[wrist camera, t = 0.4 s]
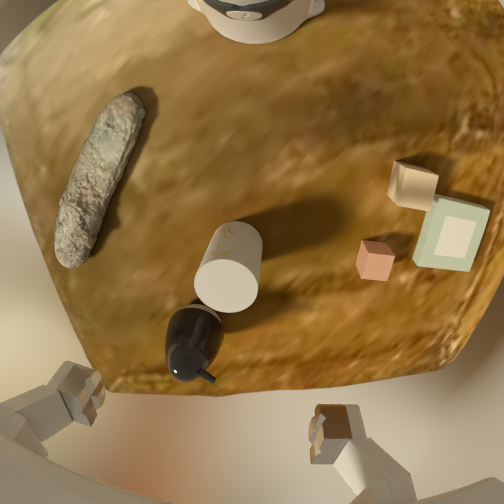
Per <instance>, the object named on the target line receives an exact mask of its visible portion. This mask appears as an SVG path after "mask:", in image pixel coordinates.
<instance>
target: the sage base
mask: <svg viewBox="0 0 504 504" xmlns="http://www.w3.org/2000/svg"><path fill="white" fill-rule="evenodd" d="M489 214H490V210H489V209H487V208H486V207H485V206H483V205H480V204H476V203H472V202H468V201H464V200H460V199H456V198H452V197H448V196H443V195H439V194H434V198H433V202H432V206H431V209H430V211H426V215H425V219H424V222H423V226H422V229H421V233H420V236H419V239H418V242H417V246H416V249H415V252H414V255H413V258H412V259H413V260H414V262H415V263H416V265H417V266H422V267H431V268H440V269H449V270H458V271H467V272H469V271H470V268H471V266H472V263H473V260H474V258H475V255H476V253H477V250H478V247H479V244H480V241H481V239H482V236H483V233H484V230H485V227H486V224H487V220H488V217H489Z"/></svg>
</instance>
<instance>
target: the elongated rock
mask: <svg viewBox="0 0 504 504" xmlns="http://www.w3.org/2000/svg"><path fill="white" fill-rule="evenodd" d="M145 115H146V111H145V109H144V106H143V103H142V101H141V100H140V98H139V97H138V96H136V95H134V94H132V93H129V92H128V93H125V94H119V95H118V96H116V97H115V98H114V99H113V100H111V101H110V102H109V103H108V104H107V106H105V107H104V109H103V110H102V111H101V112H100V114H99V115H98V118H97V120H96V122H95V124H94V126H93V128H92V131H91V133H90V135H89V137H88V138H87V139H86V140H85V142H84V144H83V147H82V151H81V154H80V156H79V158H78V160H77V162H76V164H75V166H74V169H73V171H72V172H71V175H70V179H69V182H68V185H67V187H66V188H65V190H64V193H63V194H62V195H61V198H60V202H59V205H60V206H59V212H58V215H57V216H56V217H57V220H56V230H55V233H54V235H55V254H56V257H57V259H58V260H59V262H60V263H61V264H62V265H63V266H65V267H66V268H71V269H72V268H75V267H80V266H81V265H82V264H83V263H84V262H86V260H87V259H88V257H89V255H90V251H91V249H92V248H93V246H94V243H95V241H96V240H97V239H96V237H97V234H98V232H100V229H99V228H100V227H101V225H102V221H103V216H104V215H105V213H106V209H107V207H108V205H109V201H110V198H111V196H112V195H113V193H114V191H115V189H116V187H117V183H118V182H119V180H120V179H121V178H122V176H123V172H124V169H125V166H126V165H127V163H128V158H129V155H130V153H131V152H132V149H133V147H134V146H135V143H136V142H137V137H138V135H139V131H140V129H141V127H142V126H143V124H142V119H143V118H144V116H145Z"/></svg>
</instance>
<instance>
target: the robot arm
mask: <svg viewBox="0 0 504 504" xmlns="http://www.w3.org/2000/svg"><path fill="white" fill-rule="evenodd" d="M188 3H189V4H190V6H191V7H192V8H194V9H195V10H197V11H199V12H201V13H203V14H204V15H205V16H206V18H207V19H208V21H209V22H210V24H211V25H212V26H213V27H214V28H215V29H216V30H217V31H218V32H219V33H220V34H222V35H223V36H225V37H227V38H229V39H232V40H234V41H237V42H241V43H247V44H264V43H269V42H273V41H277V40H279V39H282V38H284V37H286V36H287V35H289V34H291V33H292V32H293V31H295V30H296V29H297V28H298V27H299V26H300V25H301V24H302V23H303V22H304V21H305V20H306V19H308V18H311V17H313V16H316V15H318V14H320V13H322V12H323V11H324V8H325V3H324V0H317V1H314V0H188ZM101 378H102V377H101V374H100V372H99V371H97V370H94V369H91V368H88V367H85V366H82V365H79V364H76V363H72V362H70V361H65V362H63V364H62V365H61V366H60V368H59V369H58V370H57V372H56V373H55V374H54V376H53V377H52V378H51V380H50V381H49V382H48V384H47V385H46V386H45V385H42V386H39V387H37V388H35V389H33V390H30V391H28V392H25V393H23V394H21V395H18V396H16V397H14V398H11V399H9V400H7V401H4V402H2V403H0V504H179V503H174V502H169V501H165V500H161V499H157V498H153V497H149V496H145V495H142V494H138V493H134V492H131V491H128V490H125V489H121V488H118V487H116V486H113V485H110V484H107V483H104V482H101V481H99V480H96V479H93V478H90V477H88V476H86V475H83V474H81V473H78V472H76V471H74V470H71V469H69V468H67V467H64V466H62V465H60V464H58V463H56V462H54V461H52V460H50V459H48V458H46V457H47V456H48V451H47V450H46V448H45V447H44V445H43V444H42V442H43V441H45V440H46V439H48V438H49V437H51V436H52V435H54V434H56V433H57V432H59V431H60V430H62V429H63V428H64V427H66V426H68V425H69V424H71V423H72V422H73V421H75V422H78V423H81V424H84V425H87V426H90V427H91V426H92V424H93V422H94V420H95V418H96V417H97V412H96V410H97V409H99V408H101V407H102V405H103V403H104V400H105V396H106V393H105V387H104V385H103V384H102V383H101V382H100V380H101ZM309 441H310V442H311V443H312V446H311V448H310V460H311V464H333V466H334V467H335V469H336V470H337V471H338V473H339V474H340V475H341V476H342V478H343V479H344V480H345V481H346V483H347V484H348V485H349V487H350V488H351V489H352V490H353V491H354V493H355V494H356V495H357V497H356V498H355V499H354V500H353V501H352V502H351V503H350V504H504V483H503V482H502V481H500V480H498V479H496V478H493V477H490V478H486V479H483V480H481V481H478V482H476V483H473V484H470V485H468V486H465V487H462V488H459V489H456V490H453V491H450V492H446V493H443V494H439V495H436V496H432V497H429V498H425V499H421V500H417V498H416V494H415V490H414V486H413V483H412V479H411V476H410V473H409V472H408V471H407V470H406V469H404V468H403V467H402V466H401V465H400V464H399V463H398V462H397V461H395V460H394V459H393V458H392V457H391V456H390V455H389V454H388V453H386V452H385V451H384V450H383V449H382V448H381V447H380V446H378V445H377V444H376V443H375V442H374V441H373V440H372V439H371V438H367V437H366V433H365V428H364V425H363V420H362V417H361V413H360V409H359V406H358V405H343V404H342V405H341V404H329V405H327V404H318V405H317V406H316V408H315V416H314V417H312V419H311V422H310V425H309Z"/></svg>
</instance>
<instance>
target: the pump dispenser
mask: <svg viewBox="0 0 504 504" xmlns="http://www.w3.org/2000/svg"><path fill="white" fill-rule="evenodd" d="M223 339H224V328H223V325H222V322H221V320H220V318H219V316H218V315H217V314H216V312H215V311H213V310H212V309H211V308H209V307H207V306H204V305H201V304H191V305H187V306H185V307H183V308H181V309H180V310H178V311H177V312H175V313H174V314H173V315H172V317H171V319H170V321H169V324H168V328H167V332H166V337H165V358H166V363H167V367H168V370H169V372H170V374H171V375H172V376H173V377H174V378H175V379H176V380H178V381H181V382H191V381H193V380H195V379H197V378H198V377H201V378H203V379H205V380H207V381H209V382H211V383H215V381H216V378H215V377H214V376H212V375H211V374H210V373H208V372H207V371H206V370H207V369H208V368H209V366H210V365H211V364H212V362H213V361H214V359H215V358H216V356H217V354H218V352H219V350H220V348H221V345H222V342H223Z"/></svg>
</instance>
